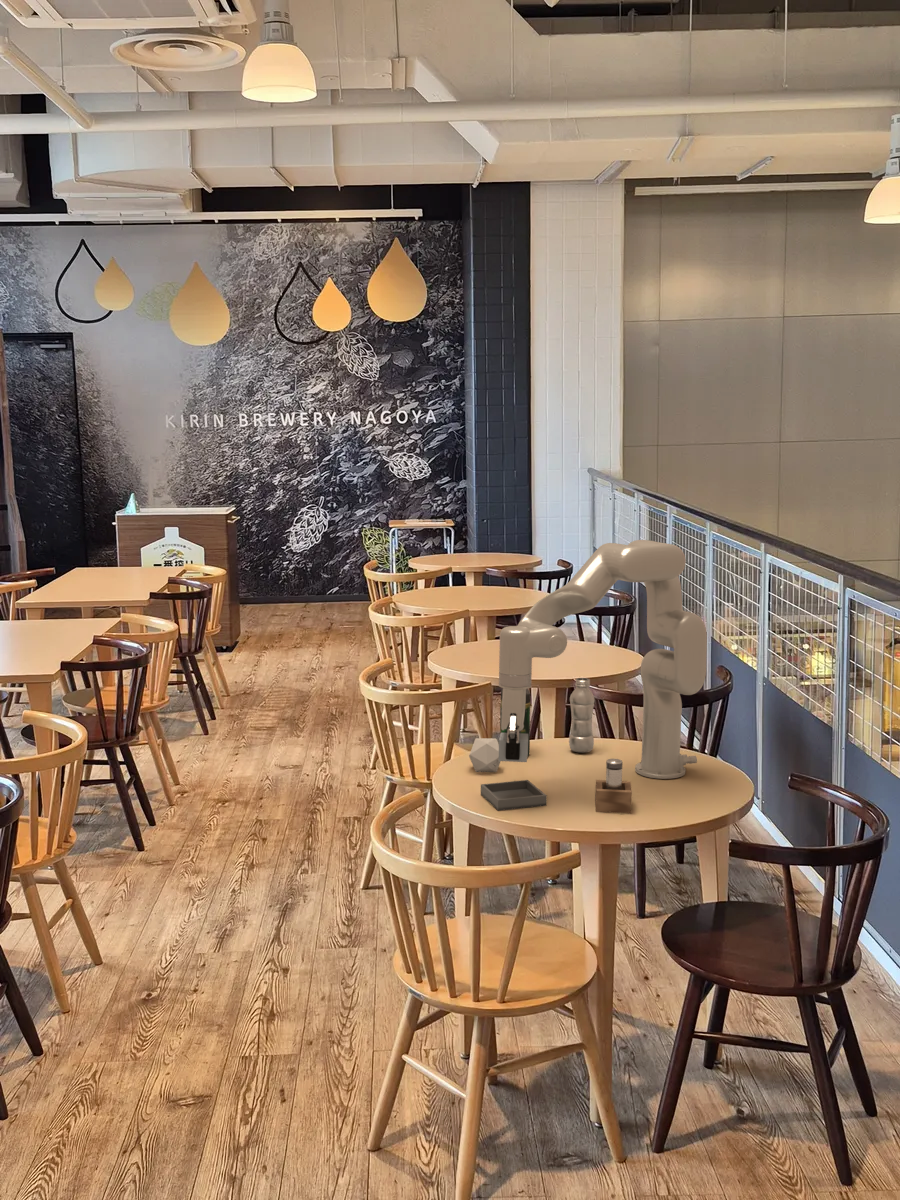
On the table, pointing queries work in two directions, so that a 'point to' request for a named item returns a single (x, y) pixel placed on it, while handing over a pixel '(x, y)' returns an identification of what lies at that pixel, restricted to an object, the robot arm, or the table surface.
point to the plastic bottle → (581, 717)
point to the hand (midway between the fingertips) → (513, 754)
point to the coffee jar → (526, 718)
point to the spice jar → (614, 774)
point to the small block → (523, 747)
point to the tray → (513, 795)
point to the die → (485, 755)
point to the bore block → (613, 798)
